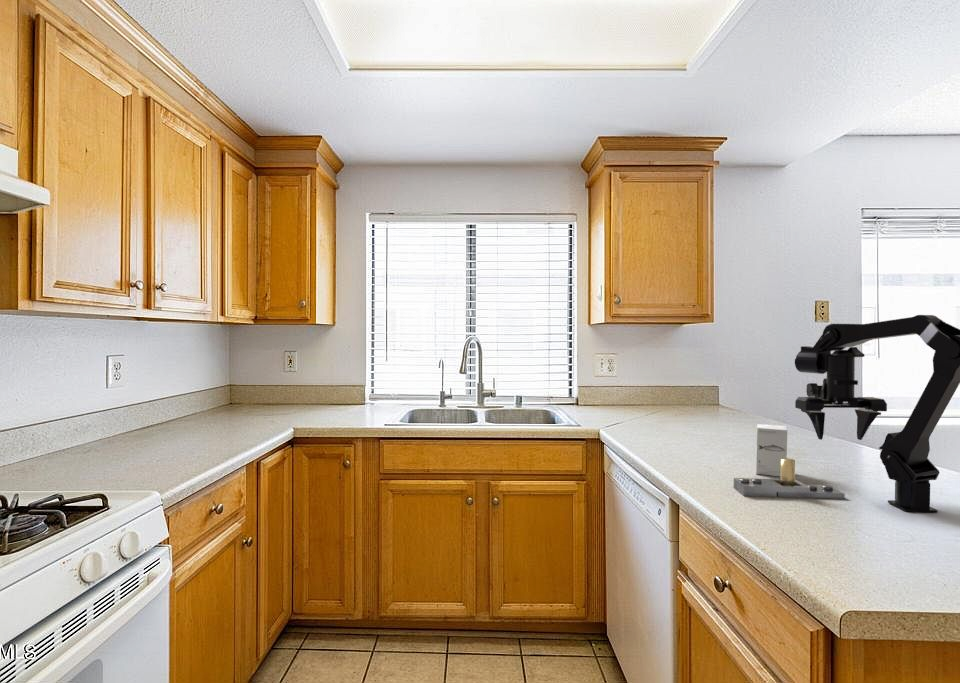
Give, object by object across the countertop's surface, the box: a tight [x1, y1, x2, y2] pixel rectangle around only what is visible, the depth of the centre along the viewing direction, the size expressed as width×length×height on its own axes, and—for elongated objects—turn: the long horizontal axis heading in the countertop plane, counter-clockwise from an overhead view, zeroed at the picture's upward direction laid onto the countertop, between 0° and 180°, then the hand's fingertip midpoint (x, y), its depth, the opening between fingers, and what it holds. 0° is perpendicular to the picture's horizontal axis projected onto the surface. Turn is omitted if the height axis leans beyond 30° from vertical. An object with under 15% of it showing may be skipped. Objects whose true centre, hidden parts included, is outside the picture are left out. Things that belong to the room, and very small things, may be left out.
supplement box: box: [755, 423, 788, 477], centre depth 152 cm, size 7×7×13 cm
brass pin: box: [779, 458, 796, 486], centre depth 133 cm, size 3×3×8 cm
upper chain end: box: [733, 477, 810, 498], centre depth 134 cm, size 7×14×3 cm, turn 85°
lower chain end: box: [776, 484, 846, 500], centre depth 133 cm, size 7×14×2 cm, turn 85°
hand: (839, 439), depth 137 cm, fingers open, 9 cm apart
